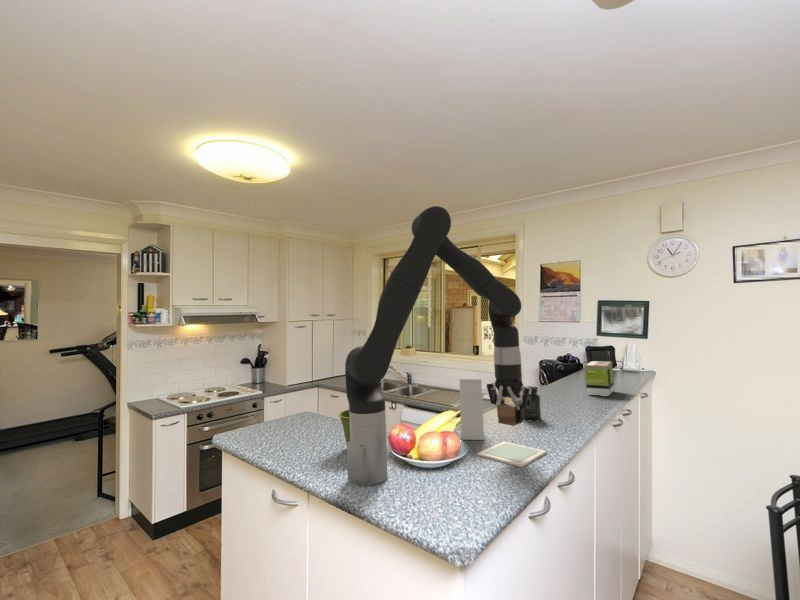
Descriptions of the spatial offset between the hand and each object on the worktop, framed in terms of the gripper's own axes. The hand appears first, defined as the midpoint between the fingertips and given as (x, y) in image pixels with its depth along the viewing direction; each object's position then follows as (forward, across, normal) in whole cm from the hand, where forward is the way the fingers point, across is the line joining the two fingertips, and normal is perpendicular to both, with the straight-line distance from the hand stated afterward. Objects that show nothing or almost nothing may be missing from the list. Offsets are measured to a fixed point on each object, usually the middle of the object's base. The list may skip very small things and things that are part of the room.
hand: (510, 420), depth 114 cm
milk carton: (+10, -18, +6) cm, 21 cm away
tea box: (+11, -11, +100) cm, 101 cm away
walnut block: (0, 0, 0) cm, 0 cm away
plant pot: (+9, -38, -26) cm, 47 cm away
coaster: (+9, 0, 0) cm, 9 cm away
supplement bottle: (+10, -14, +38) cm, 41 cm away
